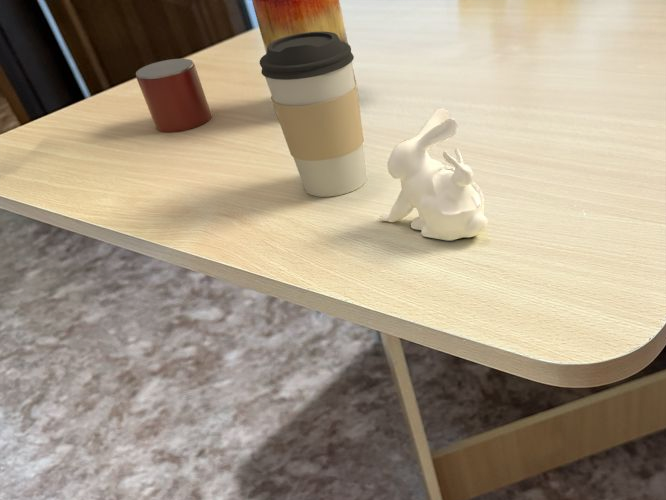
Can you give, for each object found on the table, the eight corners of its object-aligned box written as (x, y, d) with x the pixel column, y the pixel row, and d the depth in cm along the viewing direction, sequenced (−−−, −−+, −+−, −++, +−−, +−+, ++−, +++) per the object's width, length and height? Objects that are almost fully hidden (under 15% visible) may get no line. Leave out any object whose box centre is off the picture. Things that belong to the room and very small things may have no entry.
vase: (366, 106, 93) (333, -68, 80) (287, 124, 91) (240, -52, 78) (349, 84, 101) (316, -77, 88) (276, 100, 99) (232, -63, 86)
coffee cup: (300, 169, 79) (262, 30, 69) (378, 160, 79) (351, 19, 69) (289, 206, 72) (245, 56, 62) (375, 195, 72) (344, 43, 62)
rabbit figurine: (375, 220, 67) (355, 123, 61) (429, 190, 71) (415, 96, 65) (464, 256, 60) (452, 150, 54) (519, 220, 64) (513, 118, 58)
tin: (152, 136, 93) (129, 80, 88) (160, 116, 98) (140, 64, 94) (209, 126, 93) (190, 71, 89) (214, 107, 99) (196, 55, 95)
